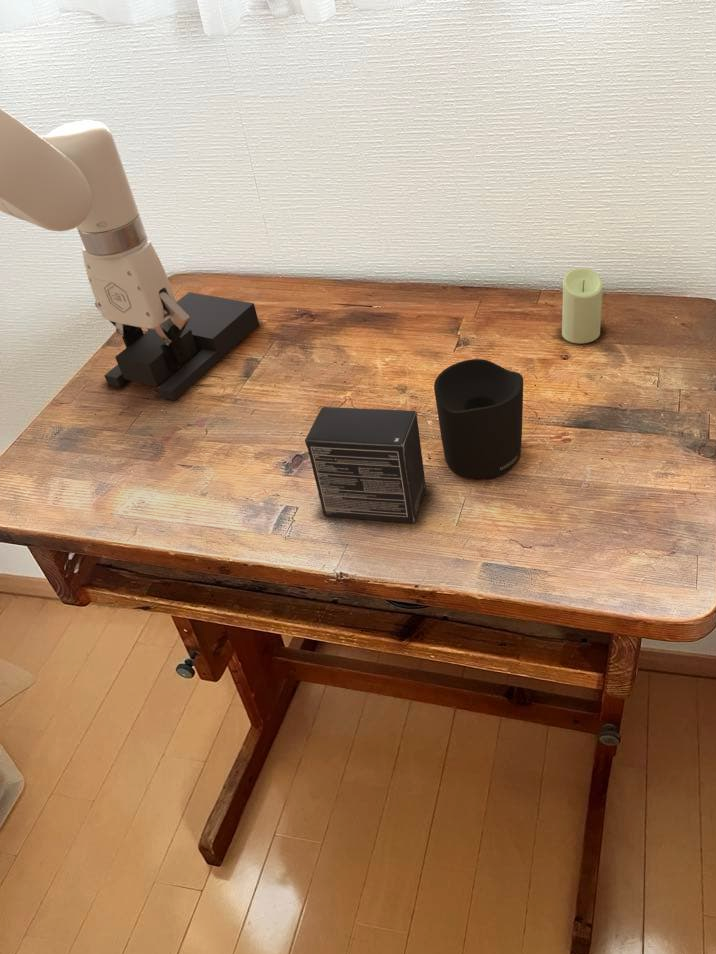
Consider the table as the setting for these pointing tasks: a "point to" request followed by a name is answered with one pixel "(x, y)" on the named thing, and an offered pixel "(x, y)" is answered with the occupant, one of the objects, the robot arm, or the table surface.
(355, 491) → the small box
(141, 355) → the black block
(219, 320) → the base pad
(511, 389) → the pen holder
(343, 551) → the table surface
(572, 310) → the candle
